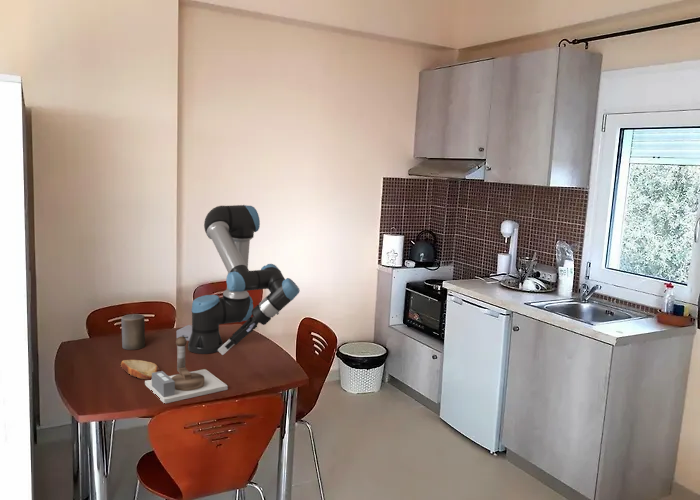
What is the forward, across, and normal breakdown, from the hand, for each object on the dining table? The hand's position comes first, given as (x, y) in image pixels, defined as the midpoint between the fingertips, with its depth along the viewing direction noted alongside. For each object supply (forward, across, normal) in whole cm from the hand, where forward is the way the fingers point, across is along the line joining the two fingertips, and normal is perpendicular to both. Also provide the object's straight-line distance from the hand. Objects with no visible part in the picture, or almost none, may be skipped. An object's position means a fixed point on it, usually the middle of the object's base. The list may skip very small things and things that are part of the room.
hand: (220, 352), depth 231 cm
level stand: (+16, -8, 0) cm, 18 cm away
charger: (+22, +55, +5) cm, 60 cm away
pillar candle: (+39, +38, +22) cm, 58 cm away
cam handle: (+15, -6, +2) cm, 16 cm away
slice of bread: (+32, +8, +15) cm, 36 cm away
